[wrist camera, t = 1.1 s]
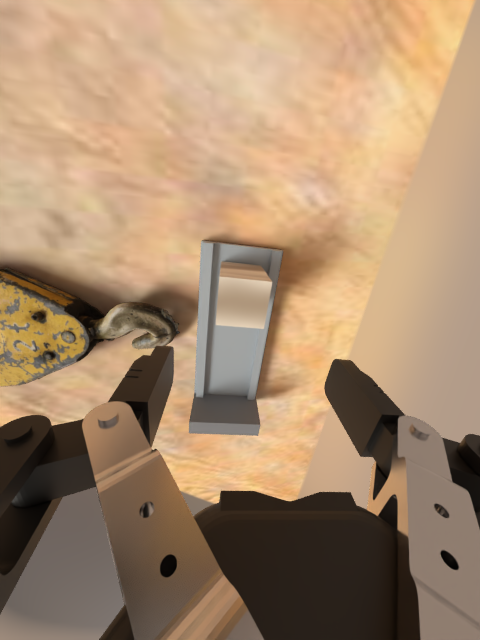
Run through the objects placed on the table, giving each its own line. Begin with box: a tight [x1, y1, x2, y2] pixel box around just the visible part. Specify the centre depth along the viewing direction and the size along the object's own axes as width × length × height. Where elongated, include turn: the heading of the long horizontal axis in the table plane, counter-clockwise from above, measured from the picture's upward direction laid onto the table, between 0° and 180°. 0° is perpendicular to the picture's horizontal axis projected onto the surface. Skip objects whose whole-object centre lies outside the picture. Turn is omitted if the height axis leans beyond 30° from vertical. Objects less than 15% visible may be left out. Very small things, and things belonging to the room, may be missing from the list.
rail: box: [189, 240, 283, 436], centre depth 27 cm, size 23×9×6 cm, turn 173°
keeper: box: [216, 261, 272, 329], centre depth 22 cm, size 4×4×7 cm
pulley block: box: [0, 268, 180, 386], centre depth 26 cm, size 14×6×30 cm
